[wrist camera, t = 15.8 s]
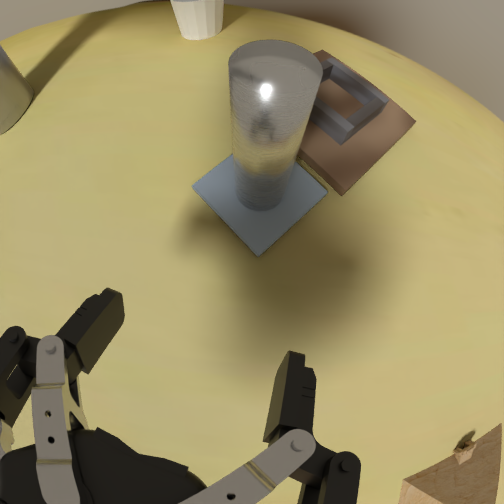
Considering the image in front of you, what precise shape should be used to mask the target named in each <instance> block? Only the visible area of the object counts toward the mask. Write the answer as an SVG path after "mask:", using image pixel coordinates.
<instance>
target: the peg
mask: <svg viewBox="0 0 504 504" xmlns="http://www.w3.org/2000/svg"><path fill="white" fill-rule="evenodd" d="M228 65H229V86H230V106H231V125H232V143H233V161H234V178H235V192H236V196H237V198H238V200H239V201H240V202H241V204H242V205H244V206H245V207H246V208H248V209H251V210H254V211H267V210H270V209H273V208H274V207H276V206H277V205H278V204H279V203H280V202H281V200H282V199H283V196H284V193H285V190H286V187H287V184H288V181H289V178H290V175H291V172H292V169H293V166H294V163H295V160H296V157H297V154H298V150H299V147H300V144H301V141H302V138H303V135H304V132H305V129H306V126H307V123H308V120H309V116H310V113H311V110H312V107H313V104H314V101H315V98H316V94H317V91H318V88H319V85H320V82H321V79H322V75H323V69H322V65H321V63H320V62H319V60H318V59H317V58H316V57H315V56H314V55H313V54H312V53H311V52H309V51H308V50H306V49H305V48H303V47H301V46H298V45H296V44H293V43H290V42H285V41H280V40H259V41H254V42H250V43H247V44H245V45H243V46H241V47H239V48H237V49H236V50H235V51H234V52H233V53H232V54H231V56H230V58H229V64H228Z"/></svg>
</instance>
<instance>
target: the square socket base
mask: <svg viewBox="0 0 504 504" xmlns="http://www.w3.org/2000/svg"><path fill="white" fill-rule="evenodd" d="M313 55H314V56H315V57H316V58H317V59H318V60H319V62H320V63H321V65H322V69H323V75H322V79H321V82H320V85H319V88H318V91H317V94H316V98H315V101H314V104H313V107H312V110H311V113H310V116H309V120H308V123H307V126H306V129H305V132H304V135H303V138H302V141H301V144H300V147H299V150H298V154H297V155H298V156H299V157H300V158H302V159H303V160H304V161H305V162H306V163H307V164H308V165H309V166H310V167H311V168H313V169H314V170H315V171H316V172H317V173H318V174H319V175H320V176H321V177H322V178H323V179H324V180H325V181H326V182H328V183H329V184H330V185H331V186H332V187H333V188H334V189H335V190H336V191H337V192H338V193H339V194H340V195H341V196H342V195H343V194H344V193H345V192H346V191H348V190H349V189H350V188H351V187H352V186H353V185H354V184H355V183H356V182H357V181H358V180H359V179H360V178H361V177H362V176H363V175H364V174H365V173H366V172H367V171H368V170H369V169H370V168H371V167H372V166H373V165H374V164H375V163H376V162H377V161H378V160H379V159H380V158H381V157H382V156H383V155H384V154H385V153H386V152H387V151H388V150H389V149H390V148H391V147H392V146H393V145H394V144H395V143H396V142H397V141H398V140H399V139H400V138H401V137H402V136H403V135H404V134H405V133H406V132H407V131H408V130H409V129H410V128H411V127H412V126H413V125H414V123H415V122H416V121H415V120H414V119H413V118H412V117H411V116H410V115H409V114H408V113H407V112H406V111H404V110H403V109H402V108H401V107H400V106H399V105H398V104H396V103H395V102H394V101H393V100H392V99H391V98H389V97H388V96H387V95H386V94H384V93H383V92H382V91H381V90H379V89H378V88H377V87H376V86H374V85H373V84H372V83H370V82H369V81H368V80H366V79H365V78H364V77H362V76H361V75H360V74H358V73H357V72H356V71H354V70H353V69H351V68H350V67H348V66H347V65H345V64H344V63H342V62H341V61H339V60H338V59H336V58H335V57H333V56H332V55H330V54H329V53H327V52H325V51H324V50H320V51H318V52H316V53H314V54H313Z"/></svg>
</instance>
